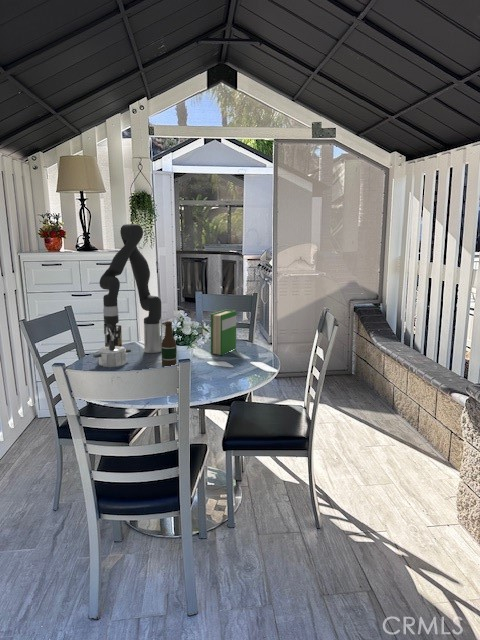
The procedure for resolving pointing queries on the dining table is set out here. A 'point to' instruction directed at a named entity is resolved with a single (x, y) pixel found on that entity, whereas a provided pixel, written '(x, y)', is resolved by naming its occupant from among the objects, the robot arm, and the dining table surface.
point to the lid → (111, 349)
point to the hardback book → (223, 331)
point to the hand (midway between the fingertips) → (112, 344)
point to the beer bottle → (169, 347)
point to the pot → (112, 359)
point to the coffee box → (114, 335)
